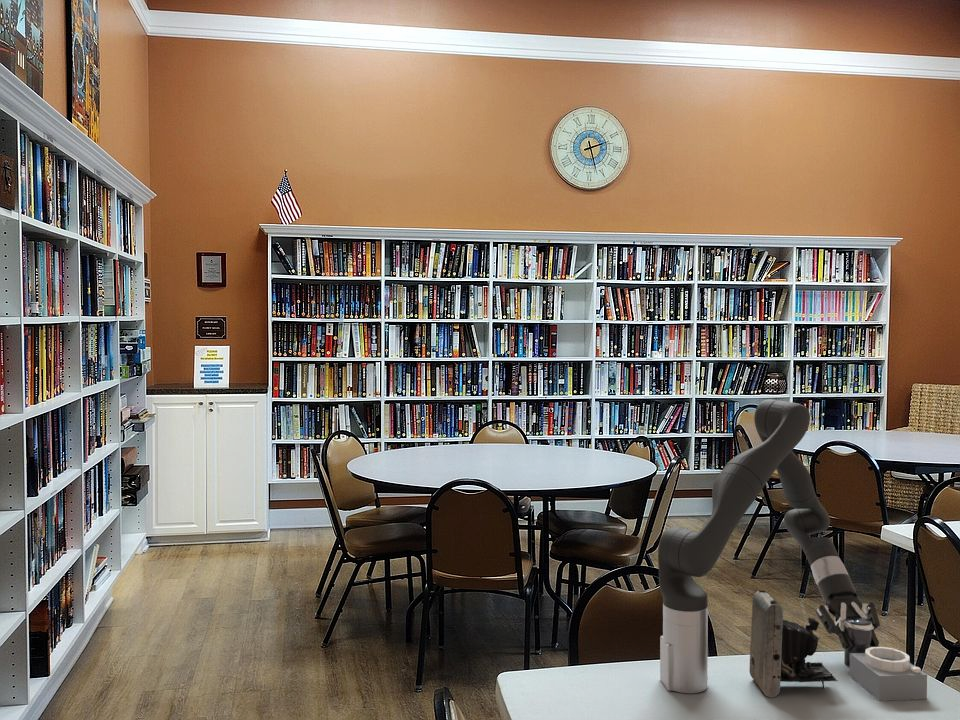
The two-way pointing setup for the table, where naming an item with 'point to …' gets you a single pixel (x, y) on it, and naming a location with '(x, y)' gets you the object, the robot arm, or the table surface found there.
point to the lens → (857, 635)
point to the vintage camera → (781, 648)
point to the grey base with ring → (888, 674)
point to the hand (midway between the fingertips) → (862, 648)
